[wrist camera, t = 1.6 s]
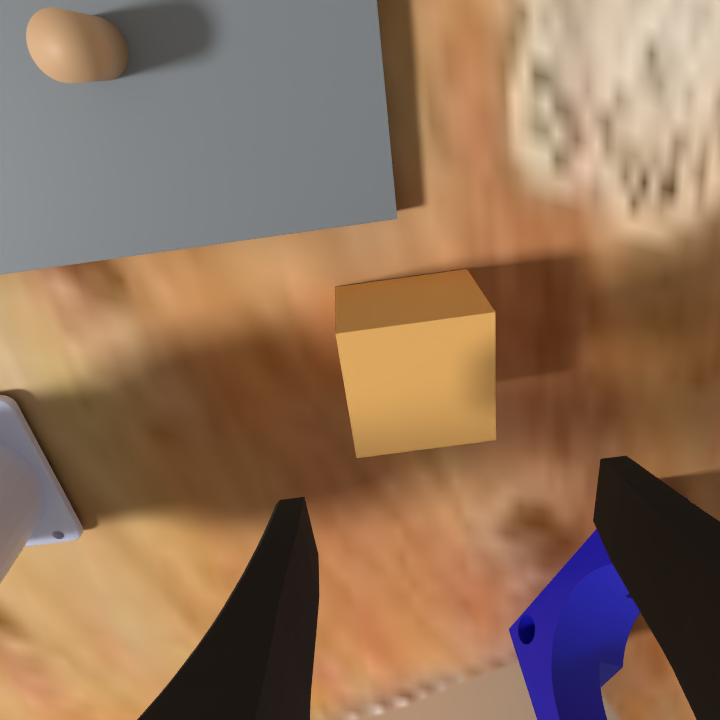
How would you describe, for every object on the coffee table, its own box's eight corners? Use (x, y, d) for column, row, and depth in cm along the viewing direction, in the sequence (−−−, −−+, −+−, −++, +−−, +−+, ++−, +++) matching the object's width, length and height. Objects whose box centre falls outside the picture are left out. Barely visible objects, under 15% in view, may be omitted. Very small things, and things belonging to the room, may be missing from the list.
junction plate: (-47, 273, 19) (-119, 313, 16) (-285, -178, 13) (-468, -250, 10) (394, 211, 19) (406, 240, 16) (346, -281, 13) (351, -386, 10)
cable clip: (571, 642, 32) (619, 756, 27) (508, 626, 31) (544, 741, 26) (707, 503, 27) (799, 610, 22) (636, 478, 26) (714, 584, 21)
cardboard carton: (352, 397, 23) (356, 458, 19) (335, 287, 20) (335, 333, 17) (470, 381, 22) (496, 439, 19) (466, 268, 20) (495, 312, 17)
